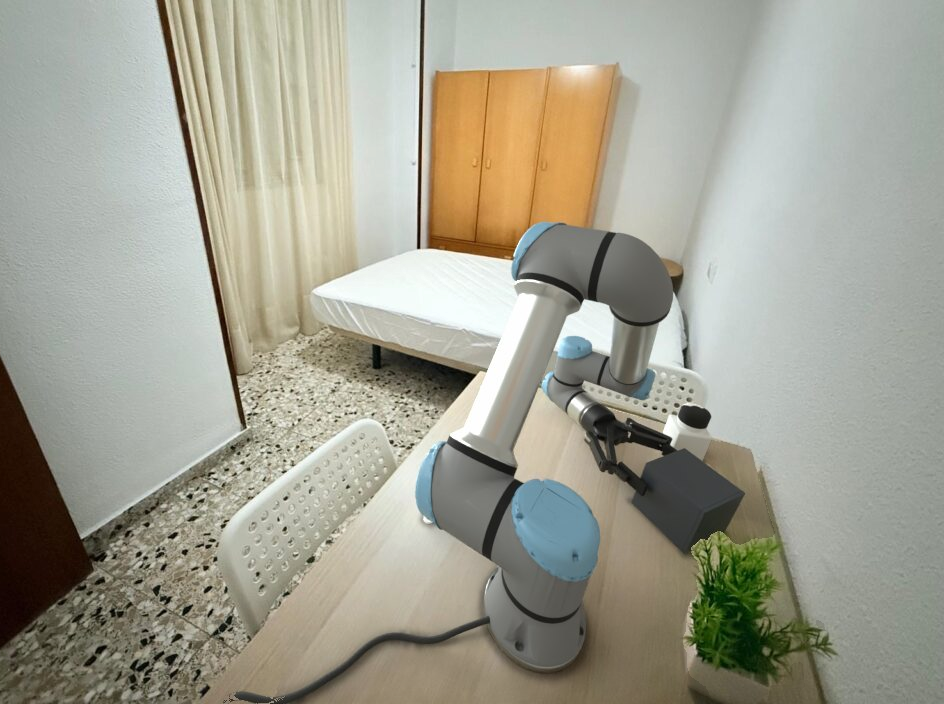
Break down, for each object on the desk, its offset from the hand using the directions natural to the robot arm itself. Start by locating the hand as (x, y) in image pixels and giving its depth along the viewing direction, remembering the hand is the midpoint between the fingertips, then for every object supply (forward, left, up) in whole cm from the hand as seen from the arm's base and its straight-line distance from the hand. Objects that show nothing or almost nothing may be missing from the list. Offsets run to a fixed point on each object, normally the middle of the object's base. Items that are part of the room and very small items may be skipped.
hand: (669, 480), depth 80 cm
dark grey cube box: (+1, -4, -6) cm, 7 cm away
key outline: (-42, +8, -7) cm, 44 cm away
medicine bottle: (+17, +12, -7) cm, 22 cm away
